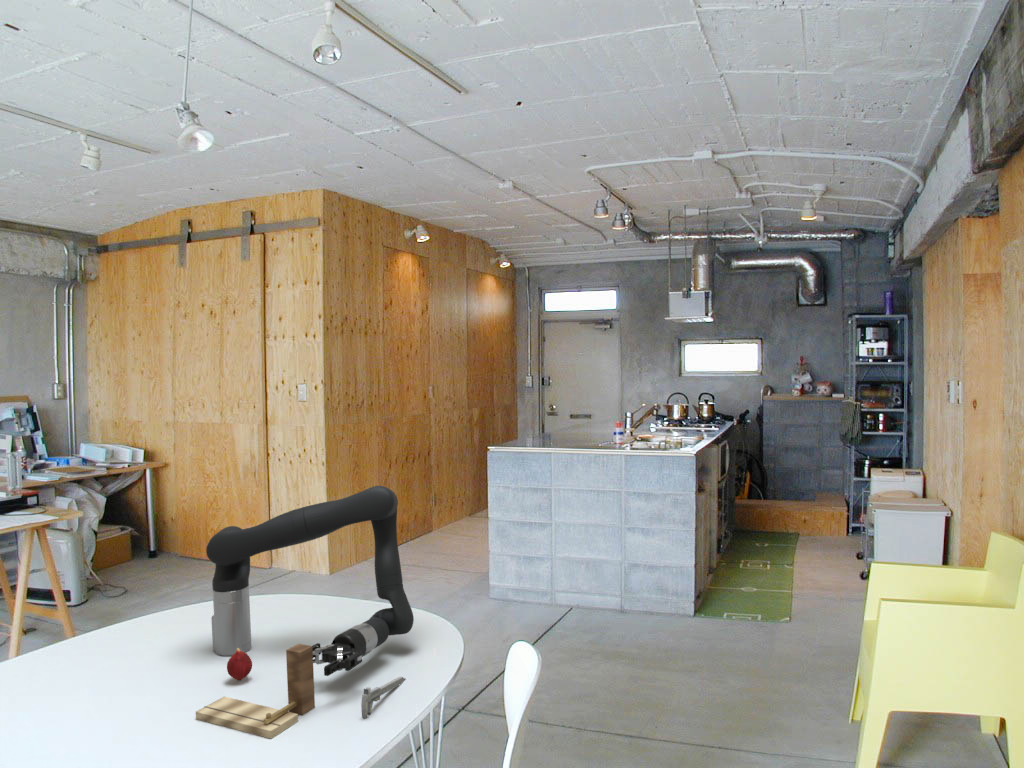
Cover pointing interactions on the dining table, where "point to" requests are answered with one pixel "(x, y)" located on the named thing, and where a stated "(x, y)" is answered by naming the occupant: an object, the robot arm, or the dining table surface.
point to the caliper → (376, 695)
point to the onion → (239, 665)
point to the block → (298, 682)
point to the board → (245, 717)
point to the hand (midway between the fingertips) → (310, 668)
